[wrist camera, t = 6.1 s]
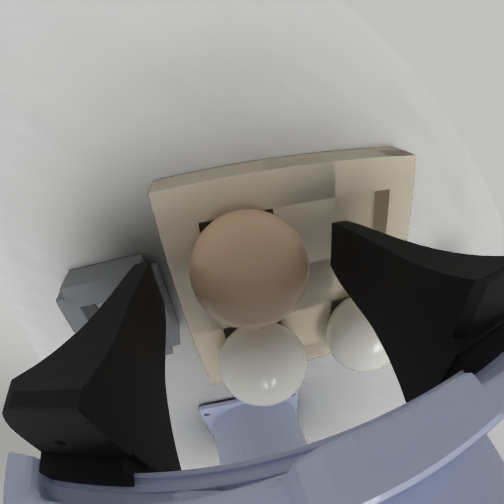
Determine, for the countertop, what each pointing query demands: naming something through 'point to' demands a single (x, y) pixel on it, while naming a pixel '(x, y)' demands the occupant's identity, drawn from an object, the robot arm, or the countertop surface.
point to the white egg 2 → (354, 339)
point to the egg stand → (108, 294)
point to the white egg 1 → (262, 364)
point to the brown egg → (249, 269)
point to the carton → (295, 214)
